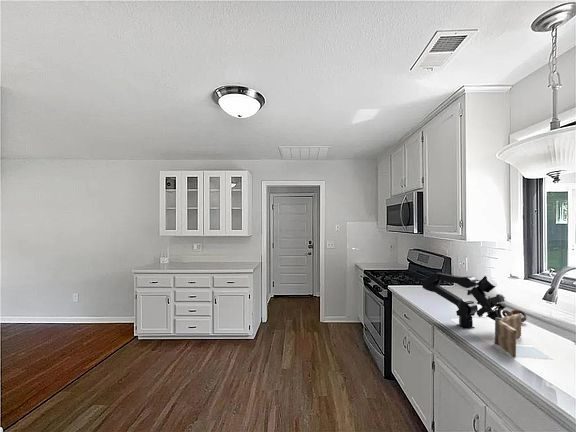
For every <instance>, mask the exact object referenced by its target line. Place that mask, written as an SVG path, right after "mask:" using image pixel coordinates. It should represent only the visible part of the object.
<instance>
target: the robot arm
mask: <svg viewBox="0 0 576 432" xmlns="http://www.w3.org/2000/svg"><path fill="white" fill-rule="evenodd" d="M441 281H443V282H448V283H451V284H452V283H453V284H456V285H458V286H460V287H463V288H464V289H467V292H466V294H467V296H473V298H474V299H475V300H476V301H477V302H476V303H475V301H473V300H471V299H470V298H468V297H465V298H462V297H459V296H458V295H455V294H454V293H453V292H452V291H449V290H447V288H445V287H442V286H441V285H440V283H441ZM421 286H422V288H423V289H424V290H426V291H428V292H432V293H435V294H437V295H438V296H440V297H442V298H444V299H445V300H447V301H449V302H450V303H452V304H453V305H455V306H456V307H457V310H456V316H457V317H458V323H457V324H456V326H457V327H459V328H462V329H465V330H467V329H468V330H469V329H475V326H474V324H473V323H474V322H473V316H475V315H477V316H478V318H480V317H483V316H484V314H486V313H487V314H486V316H485V317H487V318H489V319H491V320H493V321H495V318H496V317H498V318H503V314H502V311H503V310H505V308H507V307H508V306H507V304H506V303H505V299H506V297H505V296H504V295H503V294H502V293H497V294H496V295H495V296H491V295H488V294H487V293H490V292H491V291H493V290H494V289H495V288H496V287H497V286H498V283H497V281H496V280H495V279H493V278H492V277H490V276H488V275H484V276H483V277H482V279H480V280H479V279H476V277H474V276H460V275H459V276H458V275H452V274H448V273H442V272H434V273H433V274H432V275H431V276H429V277H428V278H425V279H424V280H422V282H421ZM470 288H471V289H470ZM478 305H480V306H481V307H480V308H479V307H478Z"/></svg>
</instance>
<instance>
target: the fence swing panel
mask: <svg viewBox="0 0 576 432" xmlns="http://www.w3.org/2000/svg"><path fill="white" fill-rule="evenodd" d="M521 318H523V315H522V314H521V313H520V314H515V315H511V316H507V317H504V316H502V318H501V321H503V322H504V323H506V324H507V325H509V326H511V327H512V328H514V329H515V330H517V333H516V339H517V338H520V337H522V323H521Z"/></svg>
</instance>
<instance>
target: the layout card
mask: <svg viewBox="0 0 576 432" xmlns="http://www.w3.org/2000/svg"><path fill="white" fill-rule="evenodd" d="M491 343H492V344H493V346H495V347H497V348H498V349H499V350H500V351H501V352H503V353H504V354H505V355H506V356H507V357H512V358H514V357H513V356H511V355H510V354H509V353H508V352H506V351H505V350H504V349H503V348H501V347H500V346H499V345H497V344H495V341H493V342H492V341H491ZM515 358H524V359H525V358H526V359H527V358H529V359H541V360H551V361H552V360H554V359H553V358H551V357H550V356H549V355H547V354H545V353H544V352H542V351H541V350H539V349H538V348H536V347H535V346H533V345H531V344H525V343H516V357H515Z"/></svg>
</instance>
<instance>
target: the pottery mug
mask: <svg viewBox="0 0 576 432" xmlns="http://www.w3.org/2000/svg"><path fill="white" fill-rule="evenodd" d="M515 314H522V317H521V324H522V323H525V322H526V321H527V319H528V318H527V315H526V313H525V312H524V311H522V310H520V309H512V310H511V311H509V310H507V309H503V310H502V311H501V315H502V317H507V316H511V315H515Z"/></svg>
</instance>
